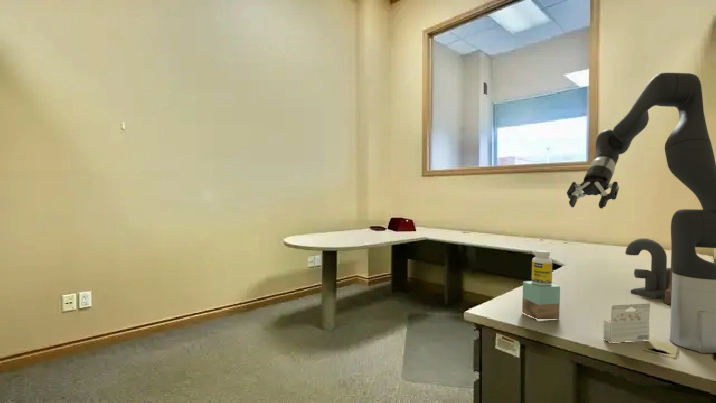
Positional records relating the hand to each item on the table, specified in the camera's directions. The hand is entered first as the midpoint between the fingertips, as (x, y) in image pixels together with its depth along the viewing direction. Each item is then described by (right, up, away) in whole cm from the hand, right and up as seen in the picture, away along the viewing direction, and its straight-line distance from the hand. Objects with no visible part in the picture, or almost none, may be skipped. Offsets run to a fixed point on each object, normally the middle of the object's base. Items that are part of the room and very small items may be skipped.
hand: (585, 206), depth 121 cm
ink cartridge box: (-8, -34, -29) cm, 45 cm away
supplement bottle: (-20, -23, -12) cm, 33 cm away
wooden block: (+33, -33, +4) cm, 47 cm away
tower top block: (-21, -28, -12) cm, 37 cm away
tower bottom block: (-21, -33, -11) cm, 41 cm away
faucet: (+35, -33, +19) cm, 51 cm away
